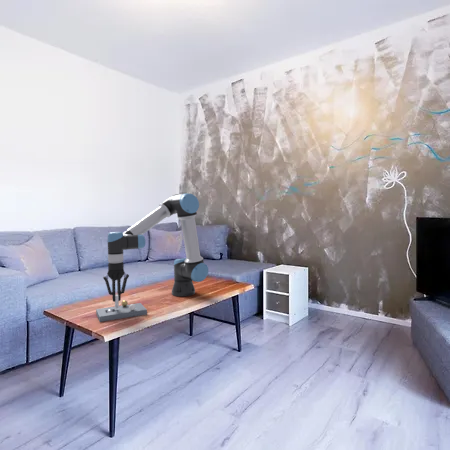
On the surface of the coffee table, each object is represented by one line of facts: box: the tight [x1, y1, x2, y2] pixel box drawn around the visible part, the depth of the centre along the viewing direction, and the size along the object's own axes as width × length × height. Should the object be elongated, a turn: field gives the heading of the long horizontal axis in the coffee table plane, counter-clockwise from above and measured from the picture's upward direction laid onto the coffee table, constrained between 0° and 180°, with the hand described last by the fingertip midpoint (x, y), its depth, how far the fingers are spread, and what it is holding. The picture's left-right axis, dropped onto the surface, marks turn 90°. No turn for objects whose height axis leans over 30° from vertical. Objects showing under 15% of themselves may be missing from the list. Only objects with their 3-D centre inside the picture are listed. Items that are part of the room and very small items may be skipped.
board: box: [95, 302, 148, 323], centre depth 165 cm, size 23×14×2 cm, turn 118°
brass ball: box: [121, 299, 129, 306], centre depth 171 cm, size 3×3×3 cm
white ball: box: [129, 303, 136, 311], centre depth 163 cm, size 3×3×3 cm
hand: (116, 307), depth 164 cm, fingers closed
